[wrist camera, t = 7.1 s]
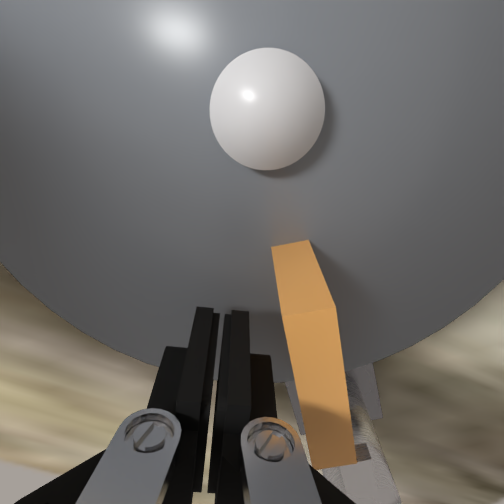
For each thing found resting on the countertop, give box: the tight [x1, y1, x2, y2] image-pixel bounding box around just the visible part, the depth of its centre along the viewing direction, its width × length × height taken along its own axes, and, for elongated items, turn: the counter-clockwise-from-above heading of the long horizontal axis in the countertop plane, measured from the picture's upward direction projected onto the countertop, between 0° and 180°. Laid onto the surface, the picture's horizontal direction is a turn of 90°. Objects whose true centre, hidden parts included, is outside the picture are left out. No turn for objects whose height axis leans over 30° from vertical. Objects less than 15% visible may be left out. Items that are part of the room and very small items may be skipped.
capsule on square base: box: [285, 363, 401, 504], centre depth 16 cm, size 5×4×6 cm
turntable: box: [0, 0, 504, 470], centre depth 10 cm, size 19×19×6 cm
